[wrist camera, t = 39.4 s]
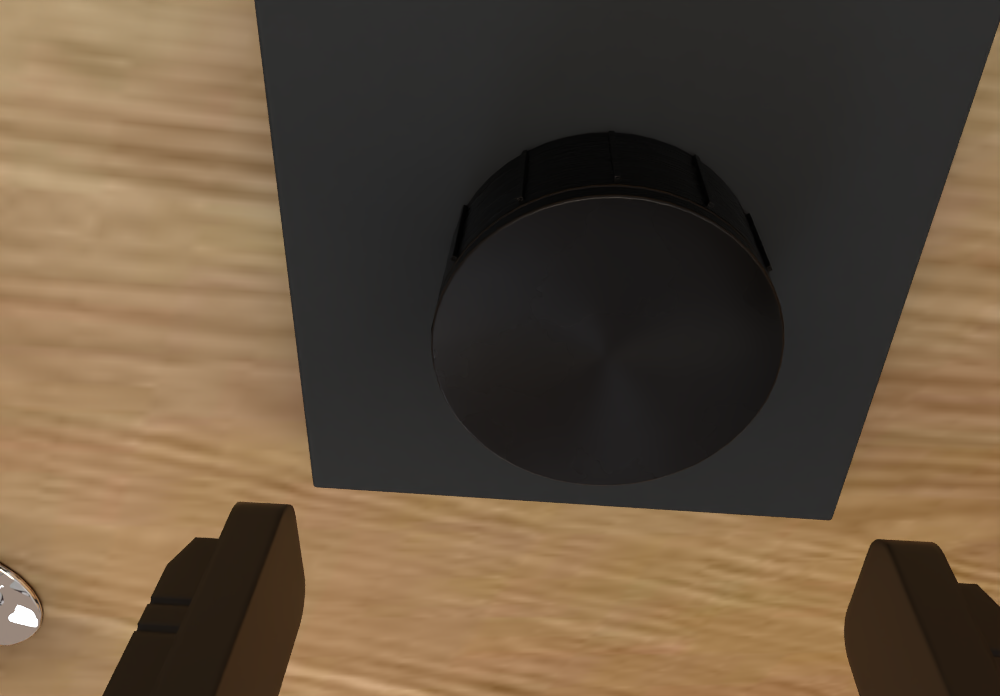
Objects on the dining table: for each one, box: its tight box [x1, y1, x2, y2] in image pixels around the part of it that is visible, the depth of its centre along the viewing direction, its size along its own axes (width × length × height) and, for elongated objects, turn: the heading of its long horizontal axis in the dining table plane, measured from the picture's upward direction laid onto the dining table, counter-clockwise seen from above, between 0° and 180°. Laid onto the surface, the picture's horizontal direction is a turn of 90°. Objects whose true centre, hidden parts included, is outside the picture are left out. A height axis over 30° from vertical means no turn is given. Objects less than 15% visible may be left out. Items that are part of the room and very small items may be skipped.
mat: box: [254, 0, 1000, 520], centre depth 19 cm, size 13×13×1 cm
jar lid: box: [431, 131, 784, 486], centre depth 17 cm, size 6×6×3 cm
